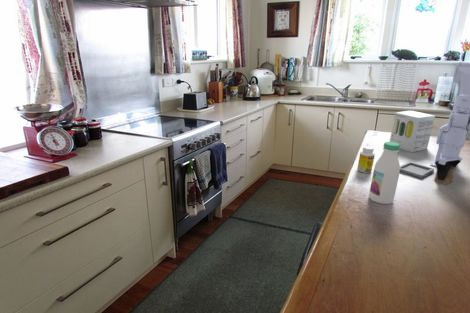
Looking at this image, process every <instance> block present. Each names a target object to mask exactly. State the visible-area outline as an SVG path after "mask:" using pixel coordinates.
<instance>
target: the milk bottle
mask: <svg viewBox="0 0 470 313" xmlns="http://www.w3.org/2000/svg"><path fill="white" fill-rule="evenodd" d="M399 152H400V145H399V144H398V143H394V142H390V141H385V142H384V143H383V152H382V153H381V154H380V156H379V158H378V159H377V161H376V162H375V165H374V168H373V171H372V178H371V183H370V187H369V193H368V198H369V200H371V201H373V203H374V202H375V203H377V204H381V205H389V204H390V205H391V204H393V202H394V201H395V200H394V199H395V196H396V195H395V194H396V191H397V186H398V182H399V177H400V174H401V172H400V166H401V164H400V160H399V156H398V153H399Z"/></svg>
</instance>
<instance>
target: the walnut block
mask: <svg viewBox="0 0 470 313" xmlns="http://www.w3.org/2000/svg"><path fill="white" fill-rule="evenodd" d="M455 171H456V168H455V167H452V168H451V169H450V170H449V172H448V173H447V176H446V178H445V179H444V181H442V180H439V179H437V171H436V173H435V175H434V176H435V177H434V182H438V183H442V184H445V185H449V184H450V183H452V181H453V178H454V174H455Z"/></svg>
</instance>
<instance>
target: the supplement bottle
mask: <svg viewBox="0 0 470 313" xmlns="http://www.w3.org/2000/svg"><path fill="white" fill-rule="evenodd" d="M375 157H376V156H375V152H374V147H372V146H369V145H365V146H363V148H362V150H361V151H360V152H359V157H358V163H357V169H356V170H357V171H358V172H359V173H364V174H370V173H371V172H373V171H372V170H373V166H374V160H375Z"/></svg>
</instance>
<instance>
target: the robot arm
mask: <svg viewBox="0 0 470 313" xmlns="http://www.w3.org/2000/svg"><path fill="white" fill-rule="evenodd" d="M452 82H453V83H455V84H457V91H456V96H455V99H454V102H453V106H452V110H451V112H450V114H449V117H448V121H447V123H446V124H444V125H442V126H440V128H439V131H438V134H437V138H436V142H435V143H436V144H437V145H438V148H437V151H436V152H437V153H436V156H435V159H434V162H432V163H430V166H432V167H435V168H436V172H437V179H439V180H442V181H444V179H445V178H446V176H447V173H448V172H449V170H450V169H451V168H452V167H455V169H456V168H457V167H459V164H460V163H461V162H462V160H463V157H460V155H461V151H462V148H464V147H465V143H466V141H467V134H468V131H467V130H469V128H470V61H463V60H458V61H457V62H456V64H455V68H454V72H453V78H452Z"/></svg>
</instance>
